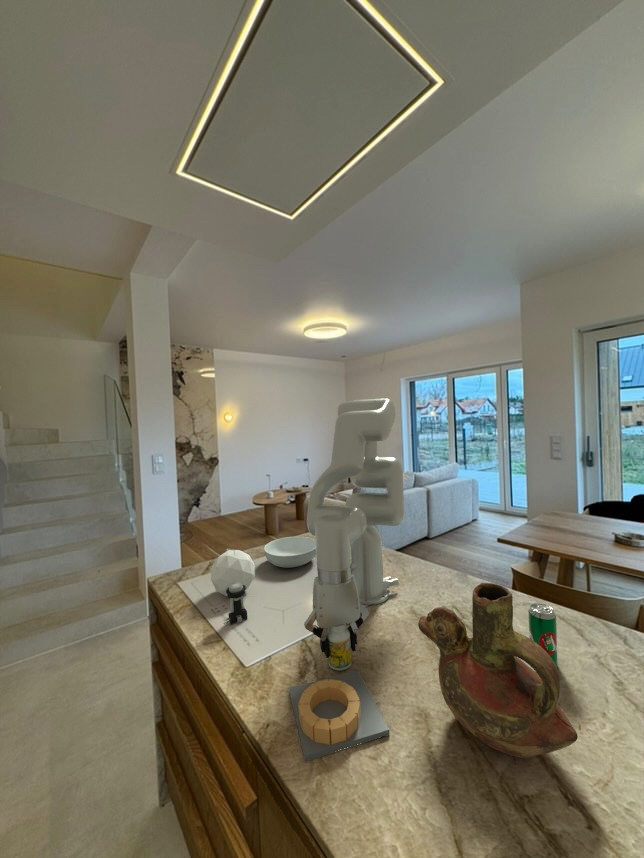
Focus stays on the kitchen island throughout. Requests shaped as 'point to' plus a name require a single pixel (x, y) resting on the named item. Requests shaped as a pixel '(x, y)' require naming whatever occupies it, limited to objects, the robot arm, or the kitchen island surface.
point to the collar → (331, 728)
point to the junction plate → (370, 717)
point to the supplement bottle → (339, 647)
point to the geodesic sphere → (232, 570)
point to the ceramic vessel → (498, 677)
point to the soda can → (543, 628)
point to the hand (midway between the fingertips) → (339, 649)
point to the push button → (236, 603)
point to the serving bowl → (290, 551)
